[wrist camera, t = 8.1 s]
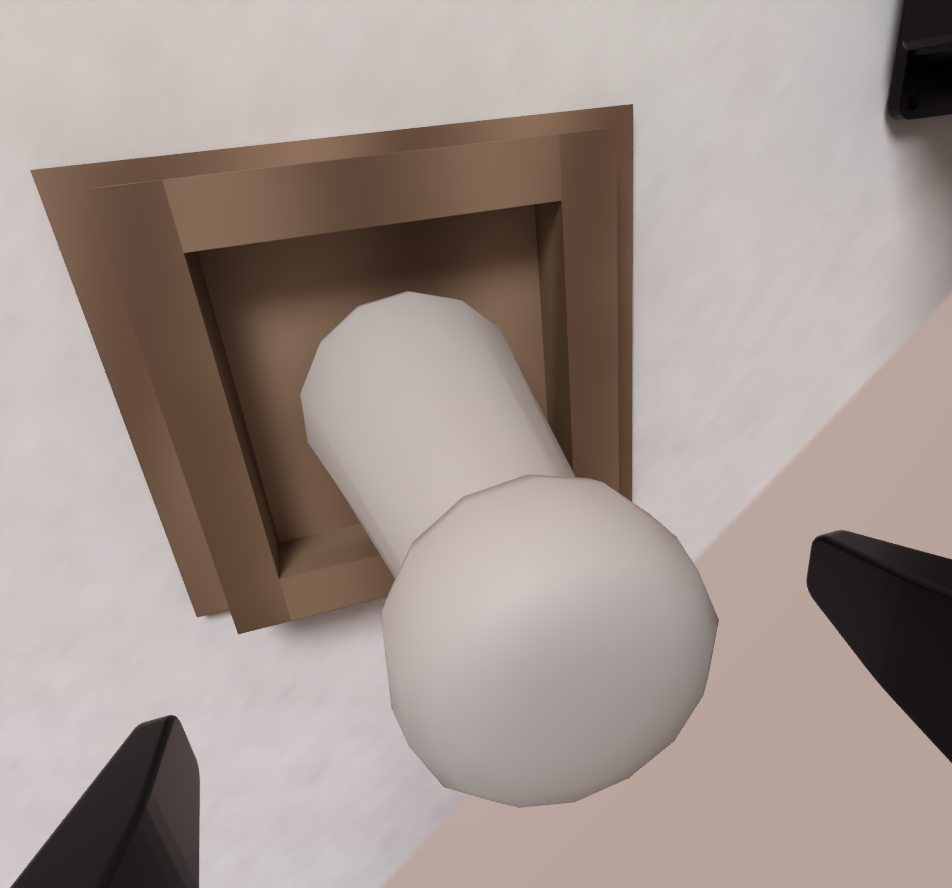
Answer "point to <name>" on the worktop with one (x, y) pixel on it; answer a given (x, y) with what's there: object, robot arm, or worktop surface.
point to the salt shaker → (502, 563)
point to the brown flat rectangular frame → (339, 318)
